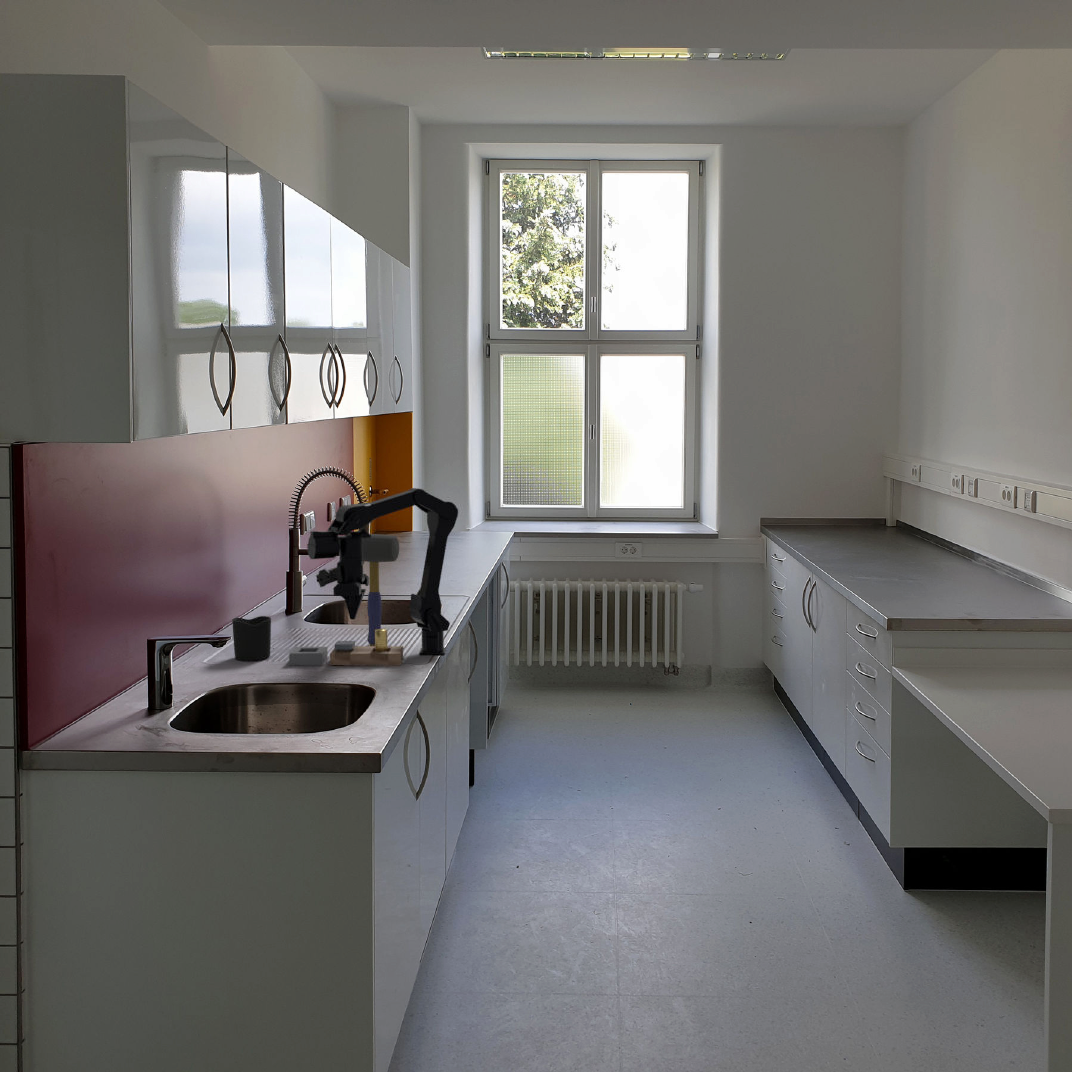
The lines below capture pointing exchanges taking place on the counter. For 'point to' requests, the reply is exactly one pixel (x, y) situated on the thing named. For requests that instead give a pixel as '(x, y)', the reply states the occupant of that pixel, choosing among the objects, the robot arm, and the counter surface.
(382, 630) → the brass rod
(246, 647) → the pen holder
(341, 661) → the socket block
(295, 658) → the gray square frame
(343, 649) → the gray rectangular block
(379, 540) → the rubber mallet
